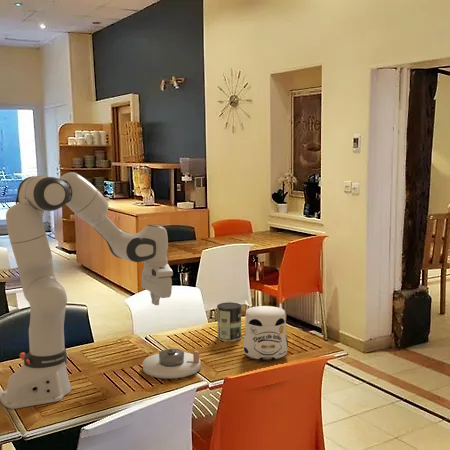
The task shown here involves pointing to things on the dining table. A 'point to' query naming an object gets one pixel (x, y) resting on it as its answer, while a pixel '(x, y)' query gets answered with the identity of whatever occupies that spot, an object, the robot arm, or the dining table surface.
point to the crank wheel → (159, 371)
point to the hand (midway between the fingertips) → (155, 304)
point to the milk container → (265, 333)
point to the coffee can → (229, 321)
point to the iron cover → (171, 357)
